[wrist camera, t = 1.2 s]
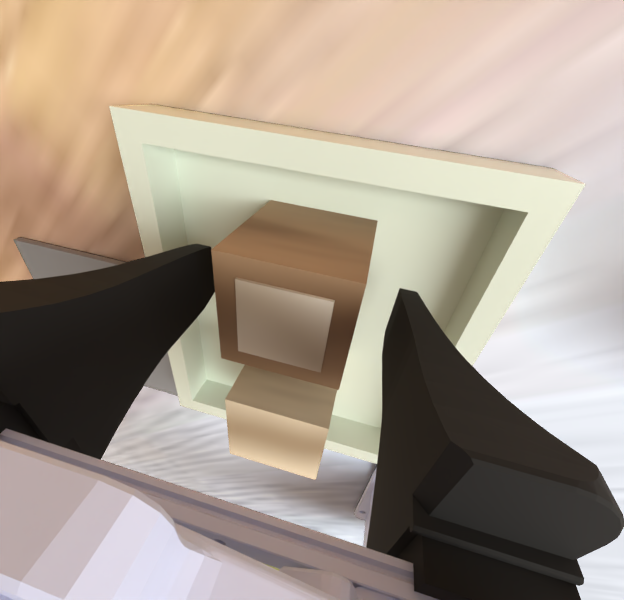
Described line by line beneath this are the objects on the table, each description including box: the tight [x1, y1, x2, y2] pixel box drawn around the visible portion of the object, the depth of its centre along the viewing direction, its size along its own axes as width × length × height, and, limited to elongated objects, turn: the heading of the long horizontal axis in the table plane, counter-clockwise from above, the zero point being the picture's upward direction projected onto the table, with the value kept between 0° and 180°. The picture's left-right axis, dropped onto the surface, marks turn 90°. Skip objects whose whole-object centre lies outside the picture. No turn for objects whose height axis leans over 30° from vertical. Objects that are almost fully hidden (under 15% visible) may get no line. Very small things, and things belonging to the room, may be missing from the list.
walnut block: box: [211, 200, 378, 390], centre depth 12 cm, size 4×4×5 cm
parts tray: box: [109, 104, 586, 464], centre depth 15 cm, size 17×15×2 cm
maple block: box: [225, 365, 337, 480], centre depth 16 cm, size 4×4×5 cm
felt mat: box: [14, 237, 178, 396], centre depth 20 cm, size 11×10×1 cm
